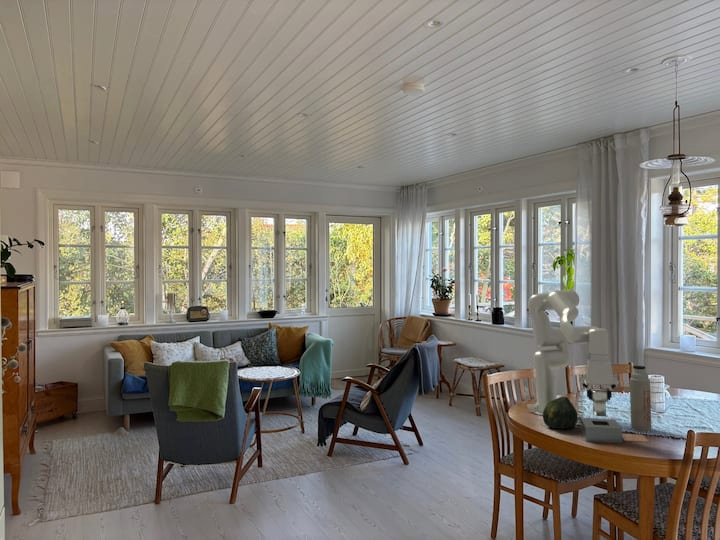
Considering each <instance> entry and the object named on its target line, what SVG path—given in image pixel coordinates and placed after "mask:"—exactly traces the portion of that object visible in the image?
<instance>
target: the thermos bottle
mask: <svg viewBox="0 0 720 540" xmlns="http://www.w3.org/2000/svg"><path fill="white" fill-rule="evenodd" d="M632 370H633V371H632V372H631V373H630V376H631V377H630V378H629V399H630V400H629V402H630V403H629V404H630V428H632V429H631V430H633V429H634V430H633V431H635V430H637V431H636V432H640V431H644V432H643V433H646V432H647V431H649V432H651V431H652V411H651V408H652V405H651V401H652V400H651V380H650V378H649V374H648V373H647V371H646V366H643V365H633V366H632ZM647 433H648V432H647Z"/></svg>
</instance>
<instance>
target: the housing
mask: <svg viewBox="0 0 720 540" xmlns="http://www.w3.org/2000/svg"><path fill="white" fill-rule="evenodd" d="M580 432H582V433H581V435H582V437H583V439H584V440H585V442H592V443H609V444H610V443H611V444H623V438H622V434H623V428H622V427H621V425H620V424H619V423H618V421H617V420H616V419H613V418H589V417H580Z"/></svg>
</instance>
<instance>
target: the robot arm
mask: <svg viewBox="0 0 720 540" xmlns="http://www.w3.org/2000/svg"><path fill="white" fill-rule="evenodd" d="M579 304H580V296H579V294H578V293H577V291H575V290H571V289H566V290H565V289H564V290H563V289H560V290H553V291H552V292H546V293H545V292H543V293H541V292H540V293H536V294H533V295H531V296H530V297H529V298H528V302H527V309H528V312H529V316H530V318H531V322H532V324H531V325H532V332H533V339H534V343H535V345H536V346H537V347H539V348H550V349H540V350H537V351H535V353H534V354H533V358H532V360H533V364H534V365H533V366H534V369H535V371H534V372H535V383H536V384H535V386H536V402H535V403H533V404H530V403H529V404H528V403H526V405H527V409H529V410H533V413H534V414H535V415H537V414H538V416H542V415H543V411H544V409H545V406H546V405H547V403H549V402H551V401H553V400H555V399H557V397H558V396H557V378H556V375H555V373H554V372H553V371H552V370H553V369H564V368H567V367H568V366H569V363H570V354H569V353H570V352H569V346H568V345H569V344H568V342H569V343H571V344H575V345H580V344H582V345H583V344H588V353H587V354H584V355H585V358H587V362H586V365H585V374H584V375H583V376H581V377H580V378H579V379H578V382H579V383H580V384H581V385H582V386H583V387H584V388H585V389H586V397H587V398H588V399H589V400H590V401H591V390H592V389H591V388H592V386H606V387H607V389H606V391H608V401H611V399H612V396H613V395H612V394H613V393H612V391H613V390H614V389H616V387H617V386H618V385H619V384H620V380H619V379H617V378H616V377H615V376H614V375H613V369H612V363H611V361H610V360H609V334H608V330H607V329H605V328H603V327H602V328H601V327H597V326H595V325H583V326H579V325H578V326H574V325H573V324H572V323H571V322H573V321H574V320H576V319H577V318H578V316H579V308H577V307H578V306H579ZM545 311H554V312H555V313H557V316H558V317H560V320H559V327H551V321H550V317H549V316H548V314H547V313H546V312H545ZM551 347H554V349H553V348H552V349H551ZM584 381H586V383H587V384H586V383H585V382H584ZM613 381H614V382H613Z"/></svg>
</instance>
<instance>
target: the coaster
mask: <svg viewBox="0 0 720 540" xmlns="http://www.w3.org/2000/svg"><path fill="white" fill-rule="evenodd" d="M622 440H623V442H624V441H625V442H638V443H639V442H641V443H649V440H648V439H647V438H646V437H645V435H644V434H636V433H635V434H633V433H632V434H631V433H622Z"/></svg>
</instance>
